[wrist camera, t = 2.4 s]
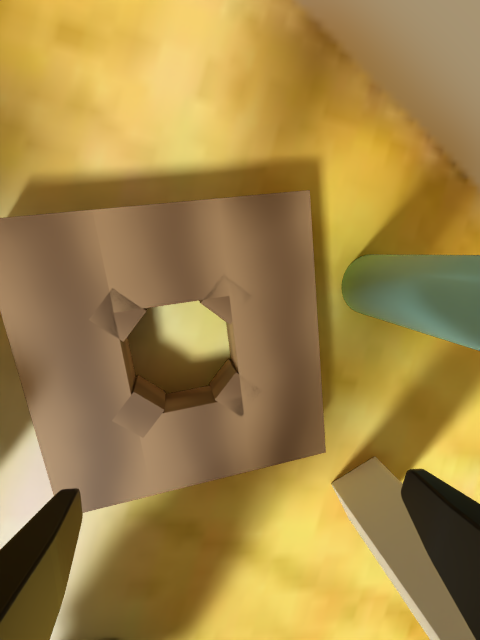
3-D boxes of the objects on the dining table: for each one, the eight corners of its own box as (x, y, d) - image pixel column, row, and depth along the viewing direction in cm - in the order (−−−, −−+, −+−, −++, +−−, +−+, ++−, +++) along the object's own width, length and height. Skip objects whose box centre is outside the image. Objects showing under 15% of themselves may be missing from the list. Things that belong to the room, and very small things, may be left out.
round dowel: (343, 317, 22) (615, 420, 8) (340, 258, 21) (641, 268, 8) (395, 308, 23) (722, 390, 9) (394, 251, 22) (757, 248, 8)
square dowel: (349, 519, 26) (494, 735, 14) (331, 483, 25) (472, 686, 13) (390, 492, 26) (565, 683, 14) (374, 456, 25) (550, 630, 13)
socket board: (73, 486, 20) (60, 518, 18) (2, 225, 17) (-27, 220, 14) (309, 431, 23) (325, 452, 21) (292, 197, 20) (309, 190, 17)
